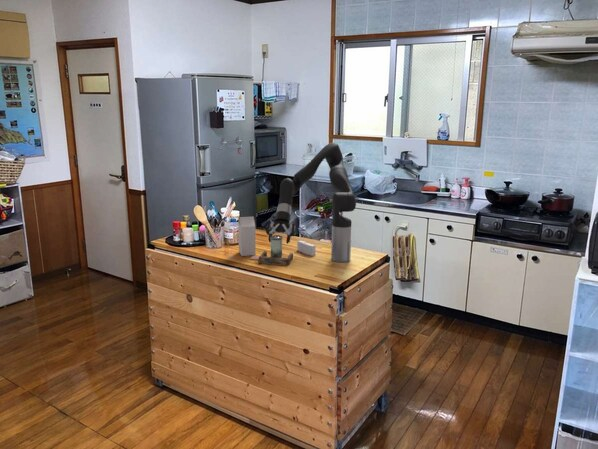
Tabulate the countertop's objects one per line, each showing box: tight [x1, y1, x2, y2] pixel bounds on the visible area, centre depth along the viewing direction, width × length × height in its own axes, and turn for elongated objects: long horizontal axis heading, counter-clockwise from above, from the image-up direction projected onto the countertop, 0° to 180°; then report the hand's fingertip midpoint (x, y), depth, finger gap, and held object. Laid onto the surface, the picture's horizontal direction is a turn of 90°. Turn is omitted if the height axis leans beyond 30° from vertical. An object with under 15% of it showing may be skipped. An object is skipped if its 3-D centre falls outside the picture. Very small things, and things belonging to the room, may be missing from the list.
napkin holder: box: [296, 240, 317, 256], centre depth 253 cm, size 15×11×6 cm
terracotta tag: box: [249, 255, 260, 261], centre depth 242 cm, size 5×5×1 cm
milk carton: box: [238, 216, 257, 257], centre depth 247 cm, size 7×7×19 cm
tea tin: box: [270, 234, 283, 258], centre depth 237 cm, size 6×6×12 cm
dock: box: [258, 250, 294, 266], centre depth 238 cm, size 14×10×3 cm
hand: (278, 242), depth 243 cm, fingers open, 8 cm apart
